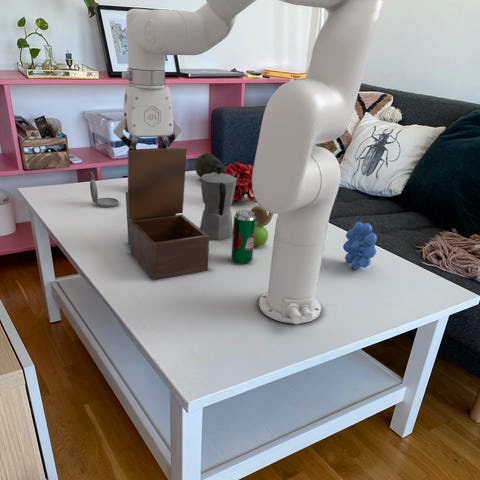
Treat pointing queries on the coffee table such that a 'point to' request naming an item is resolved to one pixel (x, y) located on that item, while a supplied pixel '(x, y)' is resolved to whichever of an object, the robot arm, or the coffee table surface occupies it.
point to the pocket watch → (102, 201)
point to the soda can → (243, 236)
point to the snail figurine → (261, 225)
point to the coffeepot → (217, 204)
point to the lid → (156, 181)
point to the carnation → (239, 171)
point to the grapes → (360, 245)
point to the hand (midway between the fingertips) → (149, 164)
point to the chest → (168, 246)
